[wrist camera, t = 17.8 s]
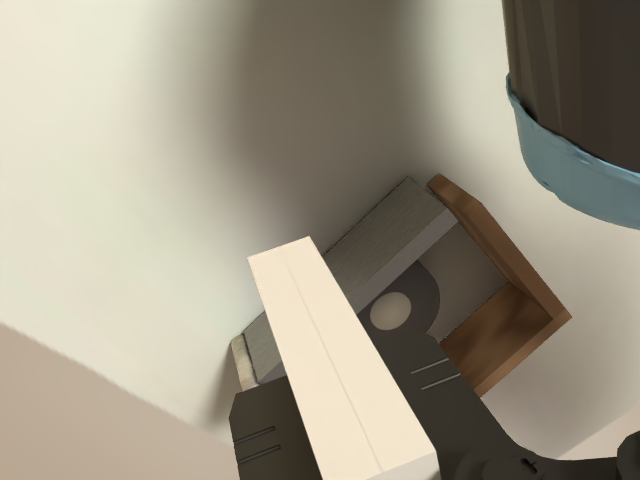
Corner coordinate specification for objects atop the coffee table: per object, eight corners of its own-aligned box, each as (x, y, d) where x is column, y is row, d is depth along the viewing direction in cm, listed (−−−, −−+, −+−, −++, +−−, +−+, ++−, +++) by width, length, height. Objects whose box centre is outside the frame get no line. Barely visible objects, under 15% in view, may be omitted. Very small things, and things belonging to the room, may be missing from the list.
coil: (381, 221, 42) (401, 242, 39) (437, 281, 46) (459, 304, 43) (304, 293, 43) (317, 319, 40) (365, 346, 47) (382, 373, 44)
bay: (439, 172, 42) (481, 202, 37) (526, 279, 49) (572, 316, 44) (253, 347, 44) (269, 398, 39) (363, 425, 51) (388, 477, 46)
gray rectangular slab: (407, 175, 41) (454, 212, 35) (419, 189, 42) (467, 228, 36) (226, 345, 43) (241, 408, 37) (241, 355, 44) (258, 419, 38)
